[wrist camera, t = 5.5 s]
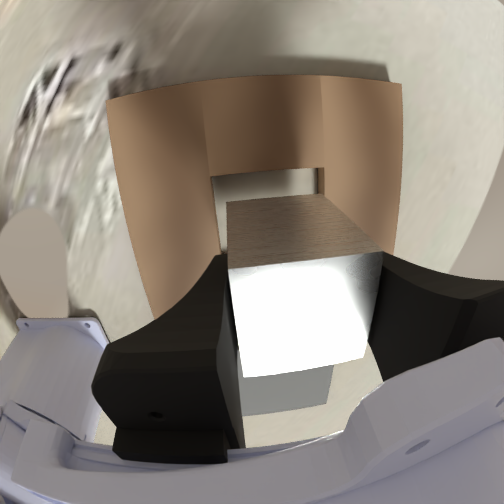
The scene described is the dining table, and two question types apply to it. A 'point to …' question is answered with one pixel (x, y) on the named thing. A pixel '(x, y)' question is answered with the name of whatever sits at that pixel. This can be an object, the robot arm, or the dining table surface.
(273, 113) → the walnut hole plate
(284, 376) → the gray square plate
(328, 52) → the dining table surface
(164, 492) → the robot arm
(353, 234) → the steel plug
